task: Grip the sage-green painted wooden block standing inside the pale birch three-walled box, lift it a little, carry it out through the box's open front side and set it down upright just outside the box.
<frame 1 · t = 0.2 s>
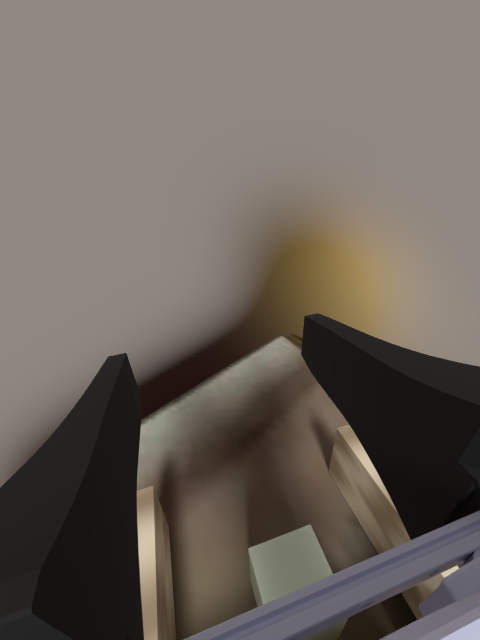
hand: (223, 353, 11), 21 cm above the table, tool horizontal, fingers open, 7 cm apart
sage block: (291, 610, 20), on the table
open box: (285, 591, 21), on the table
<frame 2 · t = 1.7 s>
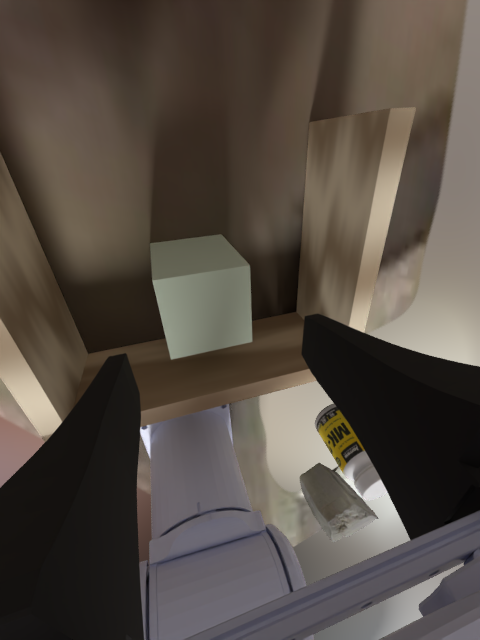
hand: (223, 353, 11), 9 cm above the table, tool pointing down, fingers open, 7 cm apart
sage block: (191, 271, 19), on the table
open box: (189, 257, 18), on the table
mineral specimen: (314, 469, 38), on the table
supplement bottle: (330, 414, 32), on the table
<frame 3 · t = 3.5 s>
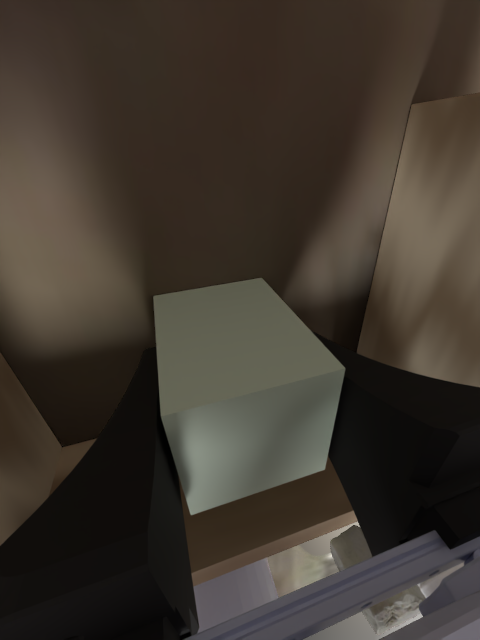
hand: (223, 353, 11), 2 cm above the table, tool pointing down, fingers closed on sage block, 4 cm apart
sage block: (215, 331, 13), on the table, touching gripper
open box: (213, 313, 12), on the table
mineral specimen: (347, 531, 32), on the table
supplement bottle: (374, 476, 26), on the table
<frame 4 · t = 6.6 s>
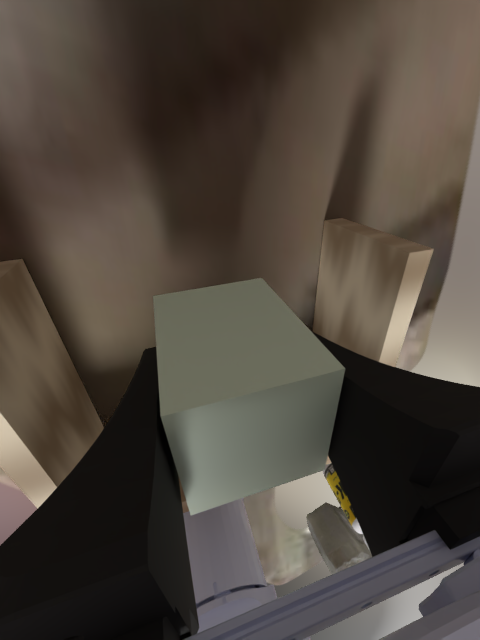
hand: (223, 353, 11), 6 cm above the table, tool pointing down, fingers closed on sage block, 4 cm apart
sage block: (215, 331, 13), point 5 cm above the table, touching gripper
open box: (205, 342, 19), on the table
mineral specimen: (321, 508, 38), on the table
supplement bottle: (338, 460, 33), on the table
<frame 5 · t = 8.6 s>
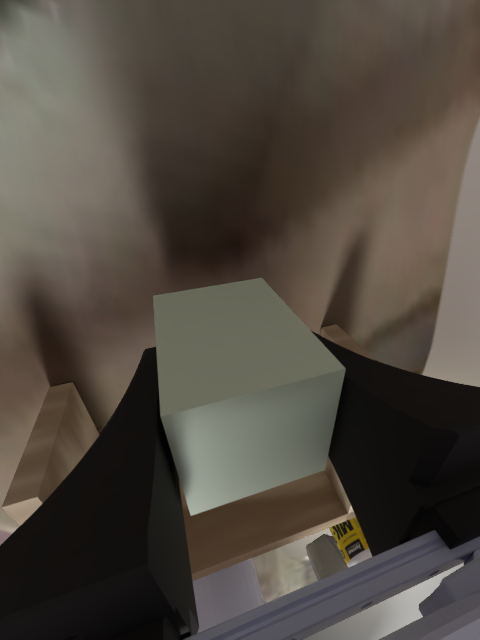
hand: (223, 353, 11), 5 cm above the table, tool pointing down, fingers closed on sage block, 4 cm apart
sage block: (215, 331, 13), point 4 cm above the table, touching gripper
open box: (218, 423, 21), on the table
mineral specimen: (319, 538, 41), on the table
supplement bottle: (335, 499, 36), on the table
when the fingers open (3 cm above the table, at t = 10.0 s): sage block drops 1 cm, on the table.
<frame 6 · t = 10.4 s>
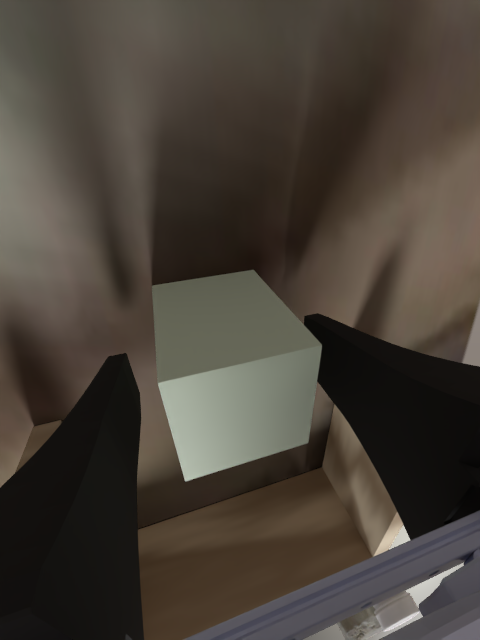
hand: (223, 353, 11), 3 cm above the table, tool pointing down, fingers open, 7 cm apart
sage block: (209, 320, 13), on the table
open box: (227, 455, 19), on the table
mineral specimen: (329, 560, 39), on the table
supplement bottle: (348, 522, 33), on the table
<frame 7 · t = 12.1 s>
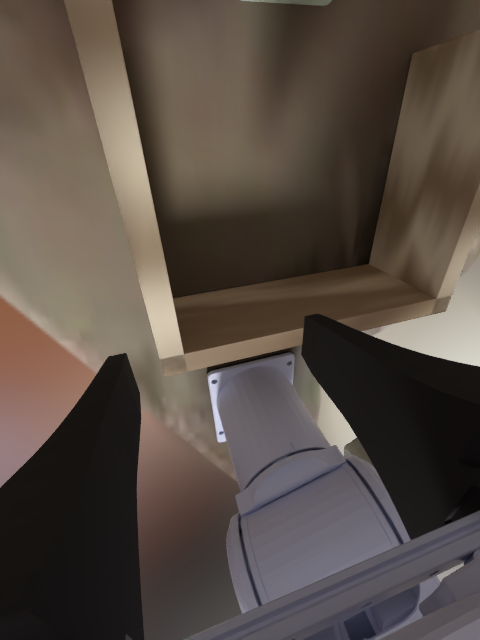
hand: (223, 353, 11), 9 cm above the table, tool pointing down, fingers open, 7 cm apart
open box: (280, 197, 18), on the table
mineral specimen: (358, 440, 38), on the table
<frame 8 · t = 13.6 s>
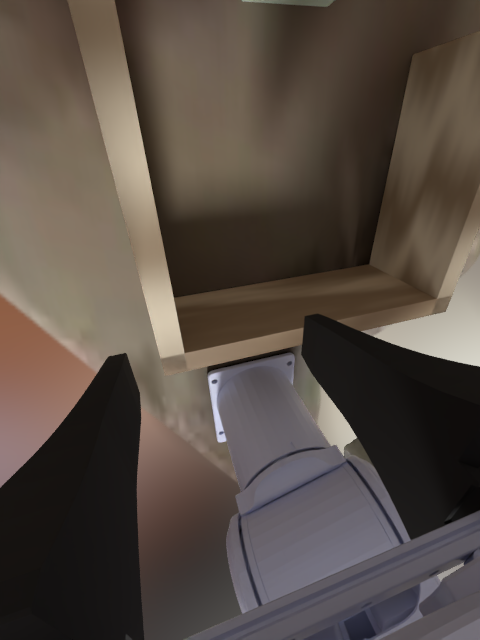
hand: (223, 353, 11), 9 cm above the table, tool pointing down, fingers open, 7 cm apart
open box: (281, 197, 18), on the table
mineral specimen: (358, 440, 38), on the table
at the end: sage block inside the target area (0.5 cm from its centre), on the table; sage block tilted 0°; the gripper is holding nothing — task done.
